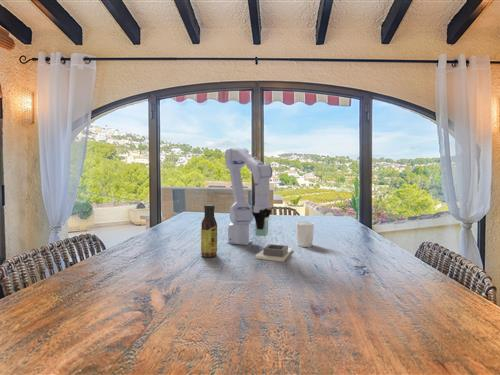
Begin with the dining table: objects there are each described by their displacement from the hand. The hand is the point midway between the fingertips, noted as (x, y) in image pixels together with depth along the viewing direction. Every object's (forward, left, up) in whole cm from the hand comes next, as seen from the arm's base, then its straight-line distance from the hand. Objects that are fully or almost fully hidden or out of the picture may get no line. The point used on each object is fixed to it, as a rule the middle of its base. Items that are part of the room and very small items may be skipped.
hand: (262, 228), depth 123 cm
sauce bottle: (-18, -11, -10) cm, 24 cm away
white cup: (+14, +19, -10) cm, 25 cm away
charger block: (0, 0, -3) cm, 3 cm away
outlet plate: (+6, 0, -10) cm, 12 cm away
